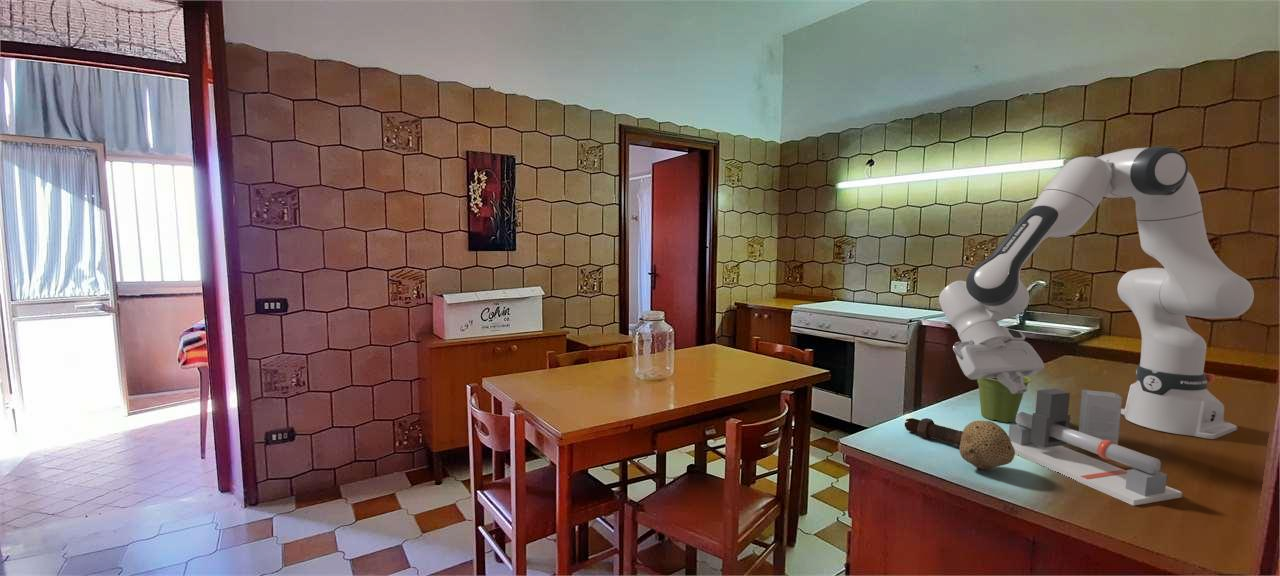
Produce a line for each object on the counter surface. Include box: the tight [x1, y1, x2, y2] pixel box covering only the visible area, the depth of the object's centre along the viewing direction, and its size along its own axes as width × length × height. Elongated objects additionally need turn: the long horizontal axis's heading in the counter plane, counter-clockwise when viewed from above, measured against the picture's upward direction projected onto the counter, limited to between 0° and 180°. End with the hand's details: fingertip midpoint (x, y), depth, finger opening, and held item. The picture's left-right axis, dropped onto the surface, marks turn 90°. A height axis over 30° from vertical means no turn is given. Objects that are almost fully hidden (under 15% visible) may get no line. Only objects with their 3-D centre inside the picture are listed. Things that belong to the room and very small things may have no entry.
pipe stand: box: [1008, 411, 1183, 506], centre depth 105 cm, size 27×12×8 cm, turn 15°
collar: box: [1030, 388, 1071, 448], centre depth 111 cm, size 3×6×11 cm, turn 105°
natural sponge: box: [959, 420, 1016, 471], centre depth 104 cm, size 9×9×10 cm
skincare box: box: [1078, 389, 1123, 445], centre depth 117 cm, size 6×4×12 cm
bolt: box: [904, 417, 963, 447], centre depth 119 cm, size 6×5×15 cm
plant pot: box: [976, 376, 1032, 423], centre depth 134 cm, size 12×12×11 cm
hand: (1020, 392), depth 117 cm, fingers closed
